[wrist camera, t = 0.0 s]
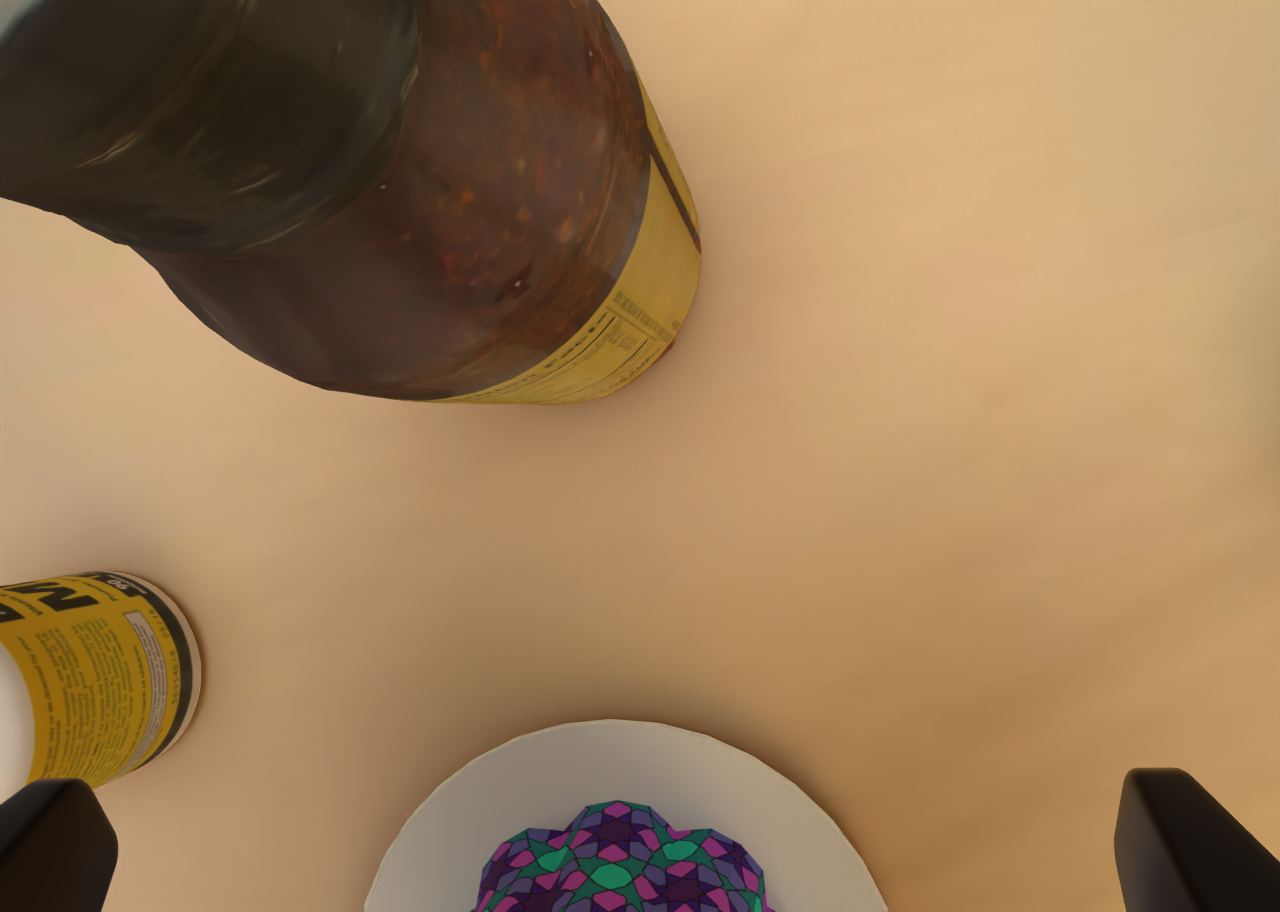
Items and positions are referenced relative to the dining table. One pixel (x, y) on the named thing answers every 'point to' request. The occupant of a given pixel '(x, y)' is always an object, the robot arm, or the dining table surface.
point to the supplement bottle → (91, 678)
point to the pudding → (620, 832)
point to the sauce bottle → (368, 183)
